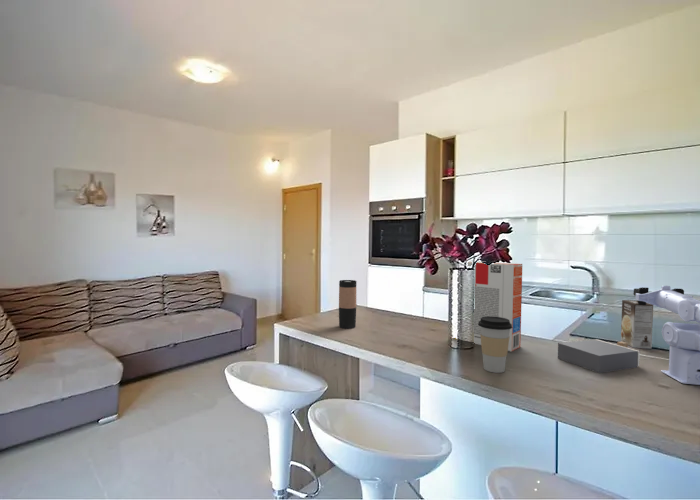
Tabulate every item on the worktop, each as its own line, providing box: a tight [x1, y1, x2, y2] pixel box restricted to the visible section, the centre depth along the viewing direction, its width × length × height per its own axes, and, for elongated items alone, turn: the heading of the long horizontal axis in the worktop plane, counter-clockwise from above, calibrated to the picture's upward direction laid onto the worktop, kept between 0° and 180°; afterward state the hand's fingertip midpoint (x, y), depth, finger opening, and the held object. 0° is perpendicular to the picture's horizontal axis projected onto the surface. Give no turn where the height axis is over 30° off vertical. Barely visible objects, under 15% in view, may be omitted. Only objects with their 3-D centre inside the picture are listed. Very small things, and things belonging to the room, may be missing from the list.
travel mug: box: [338, 279, 358, 330], centre depth 161 cm, size 8×8×20 cm
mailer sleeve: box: [557, 338, 639, 374], centre depth 117 cm, size 16×14×5 cm
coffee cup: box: [478, 316, 512, 374], centre depth 109 cm, size 9×9×15 cm
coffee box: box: [620, 299, 654, 350], centre depth 137 cm, size 9×6×16 cm
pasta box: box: [468, 260, 523, 352], centre depth 138 cm, size 23×8×30 cm, turn 46°
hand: (647, 292), depth 122 cm, fingers open, 7 cm apart
